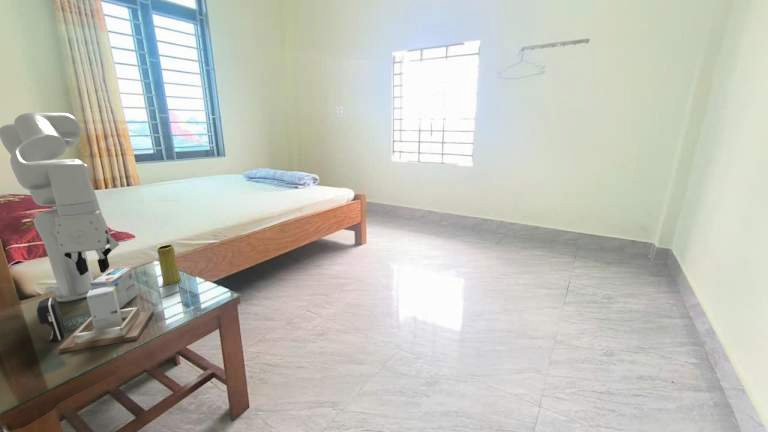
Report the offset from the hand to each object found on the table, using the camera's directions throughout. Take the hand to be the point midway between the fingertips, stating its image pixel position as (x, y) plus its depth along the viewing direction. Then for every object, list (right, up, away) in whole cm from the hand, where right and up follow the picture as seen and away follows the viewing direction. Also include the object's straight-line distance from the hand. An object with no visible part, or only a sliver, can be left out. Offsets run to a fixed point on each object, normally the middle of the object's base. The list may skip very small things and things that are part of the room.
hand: (94, 271), depth 93 cm
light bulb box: (-10, -15, +21) cm, 28 cm away
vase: (-2, -10, +37) cm, 38 cm away
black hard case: (-14, -20, +3) cm, 24 cm away
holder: (0, -19, +5) cm, 19 cm away
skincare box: (0, -18, +5) cm, 18 cm away
